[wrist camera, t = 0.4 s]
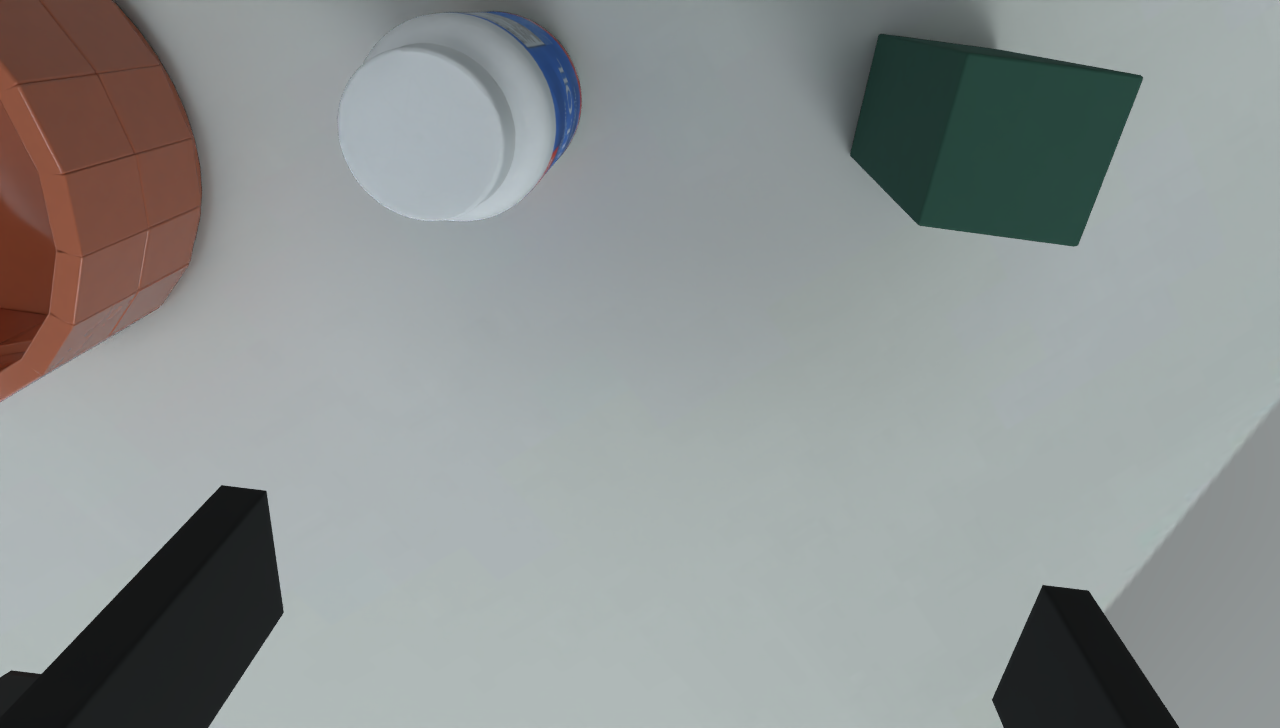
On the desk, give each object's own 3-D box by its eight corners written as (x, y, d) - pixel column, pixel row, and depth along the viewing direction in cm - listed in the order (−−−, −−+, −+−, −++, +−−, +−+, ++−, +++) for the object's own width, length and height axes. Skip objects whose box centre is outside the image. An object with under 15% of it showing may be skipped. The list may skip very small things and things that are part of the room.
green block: (878, 33, 25) (967, 51, 17) (998, 49, 25) (1145, 76, 17) (849, 156, 27) (917, 225, 19) (961, 171, 27) (1078, 247, 19)
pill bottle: (563, 192, 28) (505, 282, 19) (420, 148, 28) (294, 219, 19) (602, 37, 26) (556, 59, 17) (446, -14, 25) (316, -18, 16)
